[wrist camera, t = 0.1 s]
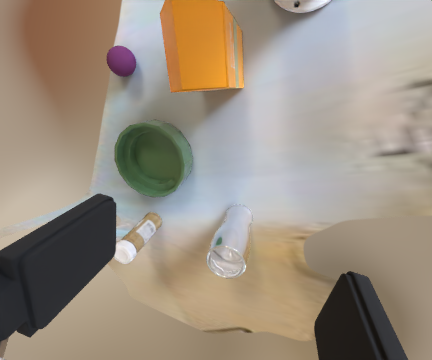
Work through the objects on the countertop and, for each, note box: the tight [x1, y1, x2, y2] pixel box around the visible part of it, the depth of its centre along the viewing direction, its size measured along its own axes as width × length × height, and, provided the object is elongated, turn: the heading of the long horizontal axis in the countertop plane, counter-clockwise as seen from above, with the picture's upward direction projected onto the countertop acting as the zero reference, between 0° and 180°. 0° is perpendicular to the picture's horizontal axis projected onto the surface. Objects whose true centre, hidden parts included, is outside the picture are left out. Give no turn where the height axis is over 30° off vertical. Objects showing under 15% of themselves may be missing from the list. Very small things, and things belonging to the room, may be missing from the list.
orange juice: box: [160, 0, 244, 92], centre depth 31 cm, size 8×9×20 cm
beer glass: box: [206, 204, 253, 279], centre depth 44 cm, size 7×7×15 cm
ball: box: [107, 46, 136, 77], centre depth 42 cm, size 5×5×5 cm
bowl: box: [115, 120, 193, 197], centre depth 48 cm, size 15×15×5 cm
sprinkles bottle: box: [114, 212, 162, 264], centre depth 51 cm, size 5×5×13 cm
